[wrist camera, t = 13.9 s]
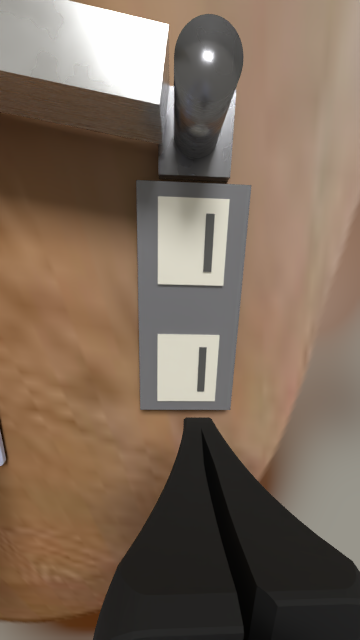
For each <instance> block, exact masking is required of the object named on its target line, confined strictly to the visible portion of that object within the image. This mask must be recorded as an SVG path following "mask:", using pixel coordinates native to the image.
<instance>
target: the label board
mask: <svg viewBox="0 0 360 640" xmlns="http://www.w3.org/2000/svg"><path fill="white" fill-rule="evenodd" d="M136 191H137V247H138V303H139V358H140V410H230V406H231V396H232V385H233V374H234V364H235V353H236V342H237V332H238V321H239V311H240V300H241V289H242V279H243V268H244V257H245V247H246V236H247V226H248V215H249V204H250V194H251V185H235V184H213V183H190V182H168V181H145V180H136Z"/></svg>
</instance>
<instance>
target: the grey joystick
mask: <svg viewBox="0 0 360 640" xmlns="http://www.w3.org/2000/svg"><path fill="white" fill-rule="evenodd" d="M242 67H243V48H242V44H241V40H240V38H239V35H238V33H237V32H236V30H235V28H234V27H233V26H232V25H231V24H230V23H229V22H228V21H227V20H226V19H224V18H222V17H220V16H218V15H213V14H205V15H200V16H198V17H196V18H194V19H192V20H191V21H190V22H189V23H188V24H187V25H186V26H185V27H184V28H183V30H182V31H181V33H180V35H179V37H178V40H177V43H176V46H175V53H174V86H170V88H169V96H168V104H167V113H166V121H165V129H164V138H163V145H161V144H159V161H158V174H159V179H173V180H196V181H218V182H227V181H228V180H229V178H230V170H231V156H232V142H233V128H234V115H235V101H236V90H235V89H236V86H237V83H238V80H239V78H240V75H241V71H242Z"/></svg>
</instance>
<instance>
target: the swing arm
mask: <svg viewBox="0 0 360 640" xmlns="http://www.w3.org/2000/svg"><path fill="white" fill-rule="evenodd" d="M169 88H170V86H169V27H168V24H164V23H159V22H155V21H151V20H147V19H143V18H139V17H135V16H131V15H126V14H122V13H118V12H114V11H110V10H106V9H102V8H98V7H94V6H89V5H85V4H81V3H77V2H73V1H69V0H0V112H3V113H8V114H13V115H18V116H23V117H28V118H33V119H38V120H43V121H48V122H53V123H58V124H63V125H67V126H72V127H77V128H82V129H87V130H92V131H97V132H102V133H107V134H112V135H117V136H122V137H127V138H131V139H136V140H141V141H146V142H151V143H156V144H161V145H163V138H164V129H165V121H166V113H167V104H168V96H169Z"/></svg>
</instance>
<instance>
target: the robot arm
mask: <svg viewBox="0 0 360 640" xmlns="http://www.w3.org/2000/svg"><path fill="white" fill-rule="evenodd" d="M5 461H6V457H5V452H4V446H3V441H2V436H1V431H0V466H2V465H3V464H4V463H5ZM93 640H360V571H359V570H358V569H357V567H356V566H355V564H354V563H353V561H351V560H350V559H349V558H347V557H346V556H345V555H343V554H342V553H341V552H339V551H338V550H337V549H335V548H334V547H333V546H331V545H330V544H329V543H327V542H326V541H325V540H323V539H322V538H320V537H319V536H318V535H316V534H315V533H314V532H313V531H312V530H310V529H309V528H308V527H307V526H306V525H304V524H303V523H302V522H301V521H299V520H298V519H297V518H296V517H295V516H294V515H292V514H291V513H290V512H289V511H288V510H287V509H286V508H285V507H283V506H282V505H281V504H280V503H279V502H278V501H277V500H276V499H275V498H274V497H273V496H272V495H271V494H270V493H269V492H268V491H267V490H266V489H265V488H264V487H263V486H262V485H261V484H260V483H259V482H258V481H257V480H256V479H255V478H254V476H253V475H252V474H251V473H250V472H249V471H248V470H247V468H246V467H245V466H244V465H243V464H242V462H241V461H240V460H239V459H238V457H237V456H236V455H235V454H234V452H233V451H232V449H231V448H230V447H229V445H228V444H227V443H226V441H225V440H224V438H223V437H222V435H221V434H220V432H219V431H218V429H217V428H216V426H215V424H214V423H213V421H212V419H211V418H185V419H184V429H183V435H182V440H181V444H180V447H179V451H178V454H177V457H176V460H175V463H174V465H173V468H172V471H171V473H170V476H169V478H168V480H167V482H166V485H165V487H164V489H163V491H162V493H161V495H160V497H159V499H158V501H157V503H156V505H155V507H154V509H153V511H152V513H151V514H150V516H149V518H148V519H147V521H146V523H145V525H144V526H143V528H142V530H141V531H140V533H139V535H138V536H137V538H136V540H135V541H134V543H133V544H132V546H131V547H130V549H129V550H128V552H127V553H126V555H125V556H124V558H123V559H122V561H121V562H120V564H119V565H118V567H117V569H116V572H115V574H114V577H113V579H112V582H111V584H110V586H109V589H108V592H107V594H106V597H105V600H104V602H103V605H102V608H101V611H100V614H99V618H98V621H97V625H96V628H95V633H94V638H93Z"/></svg>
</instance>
